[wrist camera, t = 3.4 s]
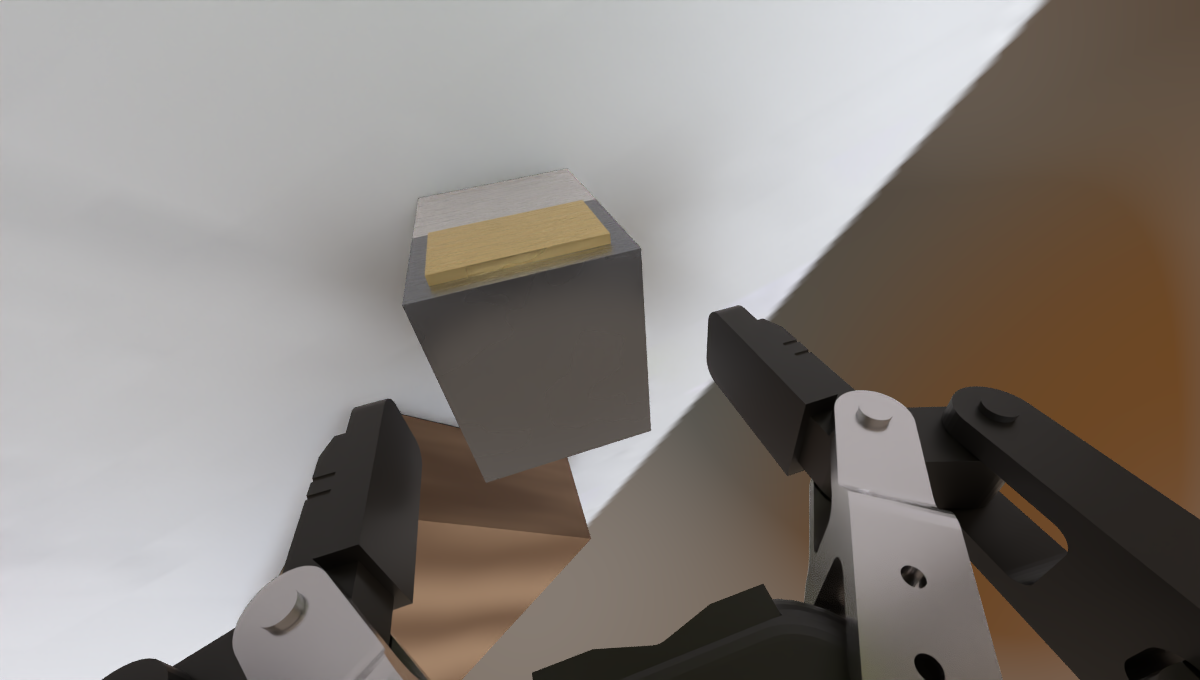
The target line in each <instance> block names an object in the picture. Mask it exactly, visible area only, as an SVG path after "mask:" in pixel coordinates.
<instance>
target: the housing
mask: <svg viewBox="0 0 1200 680" xmlns="http://www.w3.org/2000/svg"><path fill="white" fill-rule="evenodd" d="M402 306H403V308H404V310H405V312H406V314H407V316H408V319H409V321H410V323H411V325H412V327H413V329H414V331H415V333H416V335H417V338H418V340H419V342H420V344H421V346H422V348H423V350H424V352H425V355H426V357H427V359H428V361H429V363H430V365H431V367H432V369H433V372H434V374H435V376H436V378H437V380H438V382H439V384H440V386H441V389H442V391H443V393H444V395H445V397H446V399H447V401H448V403H449V406H450V408H451V410H452V412H453V414H454V416H455V418H456V420H457V423H458V425H459V427H460V429H461V431H462V433H463V435H464V437H465V440H466V442H467V444H468V446H469V448H470V450H471V452H472V454H473V457H474V459H475V461H476V463H477V465H478V467H479V469H480V471H481V474H482V476H483V478H484V480H485V482H486V483H487V482H490V481H493V480H497V479H500V478H503V477H506V476H509V475H512V474H516V473H519V472H522V471H525V470H528V469H531V468H535V467H538V466H541V465H544V464H547V463H550V462H554V461H557V460H560V459H563V458H566V457H569V456H572V455H576V454H579V453H582V452H585V451H588V450H591V449H595V448H598V447H601V446H604V445H607V444H610V443H614V442H617V441H620V440H623V439H626V438H629V437H633V436H636V435H639V434H642V433H645V432H648V431H651V423H650V405H649V387H648V369H647V351H646V333H645V314H644V296H643V278H642V260H641V248H640V247H639V246H638V245H637V243H636V242H635V241H634V240H633V239H632V238H631V237H630V236H629V235H628V234H627V233H626V232H625V230H624V229H623V228H622V227H621V226H620V225H619V224H618V223H617V222H616V221H615V220H614V219H613V217H612V216H611V215H610V214H609V213H608V212H607V211H606V210H605V209H604V208H603V207H602V205H601V204H600V203H599V202H598V201H597V200H596V199H595V198H594V197H593V196H592V195H591V194H590V192H589V191H588V190H587V189H586V188H585V187H584V186H583V185H582V184H581V183H580V182H579V181H578V179H577V178H576V177H575V176H574V175H573V174H572V173H571V172H570V171H569V170H568V169H562V170H557V171H552V172H547V173H542V174H537V175H532V176H527V177H522V178H517V179H512V180H507V181H502V182H497V183H492V184H487V185H482V186H477V187H472V188H467V189H462V190H457V191H452V192H447V193H442V194H437V195H432V196H427V197H422V198H418V204H417V211H416V218H415V224H414V231H413V238H412V244H411V251H410V258H409V264H408V271H407V277H406V284H405V291H404V297H403V304H402Z"/></svg>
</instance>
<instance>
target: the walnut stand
mask: <svg viewBox="0 0 1200 680" xmlns="http://www.w3.org/2000/svg"><path fill="white" fill-rule="evenodd" d="M402 416H403V418H404V420H405V421H406V423H407V425H408V427H409V428H410V430H411V432H412V434H413V435H414V437H415V439H416V441H417V443H418V445H419V448H420V452H421V457H422V475H421V490H420V504H419V519H418V534H417V549H416V563H415V578H414V593H413V604H410V605H407V606H404V607H401V608H398V609H395V610H393V613H392V623H391V632H392V633H393V634H394V636H395V637H396V638H397V639H398V640H399V642H400V643H401V644H402V645H403V647H404V648H405V649H406V650H407V651H408V653H409V654H410V655H411V656H412V658H413V659H414V660H415V661H416V662H417V664H418V665H419V666H420V667H421V668H422V670H423V671H424V672H425V673H426V675H427V676H428V677H429V678H430V679H431V680H462V679H463V678H464V677H465V675H466V674H467V673H468V672H469V671H470V670H471V669H472V668H473V667H474V666H475V665H476V663H477V662H478V661H479V660H480V659H481V658H482V657H483V656H484V655H485V654H486V653H487V652H488V650H489V649H490V648H491V647H492V646H493V645H494V644H495V643H496V642H497V641H498V639H499V638H500V637H501V636H502V635H503V634H504V633H505V632H506V631H507V630H508V629H509V628H510V626H511V625H512V624H513V623H514V622H515V621H516V620H517V619H518V618H519V616H521V614H522V613H523V612H524V611H525V610H526V609H527V608H528V607H529V606H530V605H531V604H532V602H533V601H534V600H535V599H536V598H537V597H538V596H539V595H540V594H541V593H542V592H543V590H544V589H545V588H546V587H547V586H548V585H549V584H550V583H551V582H552V581H553V580H554V578H555V577H556V576H557V575H558V574H559V573H560V572H561V571H562V570H563V569H564V568H565V566H566V565H567V564H568V563H569V562H570V561H571V560H572V559H573V558H574V556H576V554H577V553H578V552H579V551H580V550H581V549H582V548H583V547H584V546H585V545H586V544H587V542H588V541H589V540H590V539H591V537H590V534H589V530H588V527H587V524H586V520H585V517H584V513H583V510H582V506H581V503H580V500H579V496H578V493H577V489H576V486H575V483H574V479H573V476H572V472H571V469H570V465H569V462H568V459H567V457H566V458H563V459H560V460H557V461H554V462H550V463H547V464H544V465H541V466H538V467H535V468H531V469H528V470H525V471H522V472H519V473H516V474H512V475H509V476H506V477H503V478H500V479H497V480H493V481H490V482H487V483H486V482H485V480H484V478H483V476H482V474H481V471H480V469H479V467H478V465H477V463H476V461H475V459H474V457H473V454H472V452H471V450H470V448H469V446H468V444H467V442H466V440H465V437H464V435H463V433H462V431H461V429H460V428H457V427H452V426H448V425H444V424H440V423H435V422H431V421H427V420H422V419H418V418H414V417H410V416H405V415H402ZM284 566H285V565H284ZM283 569H284V567H283ZM283 569H282V571H281V573H280V575H281V574H282V572H283ZM280 575H279V576H280Z"/></svg>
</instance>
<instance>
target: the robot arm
mask: <svg viewBox="0 0 1200 680" xmlns="http://www.w3.org/2000/svg"><path fill="white" fill-rule="evenodd" d="M707 365H708V369H709V372H710V374H711V376H712V378H713V380H714V381H715V383H716V384H717V385H718V386H719V388H720V389H721V390H722V392H723V393H724V394H725V396H726V397H727V398H728V399H729V401H730V402H731V403H732V405H733V406H734V407H735V409H736V410H737V411H738V412H739V414H740V415H741V416H742V418H743V419H744V420H745V422H746V423H747V424H748V425H749V427H750V428H751V429H752V431H753V432H754V433H755V435H756V436H757V437H758V438H759V440H760V441H761V442H762V444H763V445H764V446H765V447H766V449H767V450H768V451H769V453H770V454H771V455H772V457H773V458H774V459H775V460H776V462H777V463H778V464H779V466H780V467H781V468H782V470H783V471H784V472H785V473H786V475H787V476H789V475H792V474H795V473H798V472H801V471H804V470H805V471H806V472H807V474H808V475H809V476H810V477H811V478H812V479H811V482H810V506H809V508H810V509H809V510H810V512H809V515H810V516H809V522H810V523H809V526H810V527H809V568H808V575H807V580H806V588H805V599H804V603H803V602H799V601H794V600H783V599H772V598H771V597H770V595H769V593H768V591H767V590H766V588H765V586H764V584H761V585H759V586H756V587H753V588H751V589H748V590H746V591H743V592H740V593H738V594H735V595H733V596H730V597H728V598H725V599H723V600H720V601H717V602H715V603H712V604H710V605H709V606H707V607H706V608H705V609H704V610H702V611H701V612H700V613H699V614H697V615H696V616H695V617H694V618H692V619H691V620H690V621H689V622H687V623H686V624H685V625H684V626H682V627H681V628H680V629H679V630H678V631H676V632H675V633H674V634H673V635H671V636H670V637H669V638H668V639H666V640H665V641H664V642H662V643H660V644H658V645H653V646H640V647H639V646H638V647H622V648H607V649H592V650H590V651H587V652H585V653H582V654H580V655H577V656H575V657H572V658H569V659H566V660H564V661H562V662H559V663H556V664H554V665H551V666H548V667H546V668H543V669H541V670H538V671H535V672H533V673H532V677H533V680H1003V679H1002V675H1001V672H1000V668H999V665H998V661H997V658H996V654H995V651H994V646H993V643H992V640H991V636H990V632H989V628H988V625H987V621H986V617H985V614H984V610H983V607H982V603H981V600H980V596H979V592H978V588H977V585H976V581H975V578H974V574H973V570H972V567H971V563H970V561H971V562H972V563H973V564H974V565H975V566H976V568H977V569H978V570H979V571H980V572H981V573H982V574H983V575H984V576H985V577H986V578H987V579H988V580H989V582H990V583H991V584H992V585H993V586H994V587H995V588H996V589H997V590H998V591H999V592H1000V593H1001V595H1002V596H1003V597H1004V598H1005V599H1006V600H1007V601H1008V602H1009V603H1010V604H1011V605H1012V606H1013V608H1014V609H1015V610H1016V611H1017V612H1018V613H1019V614H1020V615H1021V616H1022V617H1023V618H1024V619H1025V621H1026V622H1027V623H1028V624H1029V625H1030V626H1031V627H1032V628H1033V629H1034V630H1035V631H1036V632H1037V634H1038V635H1039V636H1040V637H1041V638H1042V639H1043V640H1044V641H1045V642H1046V643H1047V644H1048V645H1049V647H1050V648H1051V649H1052V650H1053V651H1054V652H1055V653H1056V654H1057V655H1058V656H1059V657H1060V658H1061V660H1062V661H1063V662H1064V663H1065V664H1066V665H1067V666H1068V667H1069V668H1070V669H1071V670H1072V671H1073V673H1074V674H1075V675H1076V676H1077V677H1078V678H1079V679H1080V680H1200V519H1198V518H1197V517H1195V516H1194V515H1192V514H1191V513H1189V512H1188V511H1186V510H1185V509H1183V508H1182V507H1181V506H1179V505H1178V504H1176V503H1175V502H1173V501H1172V500H1170V499H1169V498H1167V497H1166V496H1164V495H1163V494H1161V493H1160V492H1158V491H1157V490H1155V489H1154V488H1152V487H1151V486H1150V485H1148V484H1147V483H1145V482H1144V481H1142V480H1141V479H1139V478H1138V477H1136V476H1135V475H1133V474H1132V473H1130V472H1129V471H1127V470H1126V469H1124V468H1123V467H1121V466H1120V465H1119V464H1117V463H1116V462H1114V461H1113V460H1111V459H1110V458H1108V457H1107V456H1105V455H1104V454H1102V453H1101V452H1099V451H1098V450H1096V449H1095V448H1093V447H1092V446H1091V445H1089V444H1088V443H1086V442H1085V441H1083V440H1082V439H1080V438H1079V437H1077V436H1076V435H1074V434H1073V433H1071V432H1070V431H1068V430H1067V429H1065V428H1064V427H1062V426H1061V425H1059V424H1058V423H1057V422H1055V421H1053V420H1052V419H1051V418H1049V417H1048V416H1046V415H1045V414H1043V413H1042V412H1040V411H1039V410H1037V409H1036V408H1034V407H1033V406H1031V405H1030V404H1029V403H1027V402H1025V401H1024V400H1022V399H1020V398H1018V397H1016V396H1014V395H1012V394H1009V393H1007V392H1004V391H1001V390H997V389H993V388H987V387H967V388H963V389H960V390H958V391H957V392H955V394H954V395H953V396H952V399H951V400H950V402H949V404H948V406H947V407H921V408H920V407H919V408H906V407H905V406H903V405H902V404H901V403H899V402H898V401H896V400H894V399H893V398H891V397H888V396H886V395H883V394H880V393H877V392H872V391H864V390H859V391H858V390H857V391H855V390H854V389H853V388H852V387H851V386H850V385H848V384H847V383H846V382H845V381H843V379H841V378H840V377H839V376H838V375H837V374H836V373H835V372H833V371H832V370H831V369H830V368H829V367H828V366H826V365H825V364H824V363H823V362H822V361H821V360H820V359H818V358H817V357H816V356H815V355H814V354H813V353H812V352H810V353H809V352H808V349H807V348H806V347H805V346H803V345H802V344H801V343H800V342H797V341H796V339H795V338H794V337H793V336H792V335H791V334H790V333H788V332H787V331H786V330H785V329H784V328H783V327H781V326H779V325H776V324H774V323H772V322H770V321H767V320H765V319H760V320H757V319H756V318H755V317H753V316H752V315H751V314H750V313H749V312H748V311H747V310H746V309H745V308H743V307H742V306H739V305H738V306H734V307H730V308H726V309H723V310H719V311H715V312H712V313H711V314H710V315H709V319H708V338H707ZM421 475H422V457H421V452H420V448H419V445H418V443H417V441H416V439H415V437H414V435H413V434H412V432H411V430H410V428H409V427H408V425H407V423H406V421H405V420H404V418H403V416H402V415H401V413H400V411H399V409H398V408H397V406H396V404H395V403H394V402H393V401H392V400H391V399H385V400H381V401H377V402H374V403H370V404H366V405H363V406H359V407H355V408H354V409H353V410H352V412H351V416H350V419H349V423H348V427H347V431H346V433H345V434H341V435H338V436H334V438H333V439H332V440H331V442H330V443H329V444H328V446H327V447H326V448H325V450H324V451H323V452H322V454H321V455H320V456H319V459H318V462H317V465H316V468H315V471H314V474H313V478H312V479H313V482H312V483H311V484H310V487H309V490H308V493H307V500H306V501H305V503H304V506H303V509H302V512H301V515H300V519H299V522H298V525H297V528H296V531H295V534H294V538H293V541H292V544H291V547H290V550H289V553H288V557H287V560H286V563H285V566H284V569H283V572H282V574H281V575H280V576H278V577H276V578H275V579H273V580H272V581H271V582H270V583H268V584H267V585H266V586H265V587H264V588H262V589H261V590H260V591H259V592H258V593H257V594H256V595H255V597H254V598H253V599H252V600H251V601H250V602H249V604H248V605H247V606H246V608H245V609H244V611H243V613H242V614H241V616H240V618H239V620H238V622H237V624H236V627H235V628H234V629H232V630H231V631H229V632H228V633H226V634H225V635H223V636H221V637H220V638H218V639H216V640H215V641H213V642H212V643H210V644H208V645H207V646H205V647H203V648H202V649H200V650H198V651H197V652H195V653H194V654H192V655H190V656H189V657H187V658H185V659H184V660H182V661H181V662H179V663H177V664H176V665H174V666H170V665H168V664H166V663H164V662H161V661H159V660H157V659H150V658H149V659H141V660H138V661H135V662H132V663H130V664H127V665H125V666H123V667H121V668H119V669H118V670H116V671H114V672H112V673H111V674H109V675H108V676H106V677H105V678H104V679H102V680H431V679H430V678H429V677H428V676H427V675H426V673H425V672H424V671H423V670H422V668H421V667H420V666H419V665H418V664H417V662H416V661H415V660H414V659H413V658H412V656H411V655H410V654H409V653H408V651H407V650H406V649H405V648H404V647H403V645H402V644H401V643H400V642H399V640H398V639H397V638H396V637H395V636H394V634H393V633H392V632H391V623H392V613H393V610H395V609H398V608H401V607H404V606H407V605H410V604H413V593H414V578H415V563H416V549H417V534H418V519H419V504H420V490H421ZM1005 482H1006V483H1007V484H1008V485H1009V486H1010V487H1012V488H1013V489H1014V490H1015V491H1017V492H1018V493H1019V494H1020V495H1021V496H1022V497H1023V498H1025V499H1026V500H1027V501H1028V502H1029V503H1030V504H1031V505H1033V506H1034V507H1035V508H1036V509H1037V510H1039V511H1040V512H1041V513H1042V514H1043V515H1044V516H1046V517H1047V518H1048V519H1049V520H1050V521H1051V522H1052V523H1054V524H1055V525H1056V526H1057V527H1058V528H1059V529H1060V531H1061V532H1062V534H1063V535H1064V537H1065V538H1066V541H1067V544H1068V552H1067V551H1066V550H1065V549H1064V548H1062V547H1061V546H1060V545H1059V544H1058V543H1057V542H1056V541H1055V540H1053V539H1052V538H1051V537H1050V536H1049V535H1048V534H1047V533H1045V532H1044V531H1043V530H1042V529H1041V528H1040V527H1039V526H1037V525H1036V524H1035V523H1034V522H1033V521H1032V520H1031V519H1030V518H1028V516H1026V515H1025V514H1024V513H1023V512H1022V511H1021V510H1020V509H1018V508H1017V507H1016V506H1015V505H1014V504H1013V503H1012V502H1010V501H1009V500H1008V499H1007V498H1006V497H1005V496H1004V495H1003V494H1001V493H1000V492H999V490H1000V489H1001V487H1002V486H1003V485H1004V483H1005Z"/></svg>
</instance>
